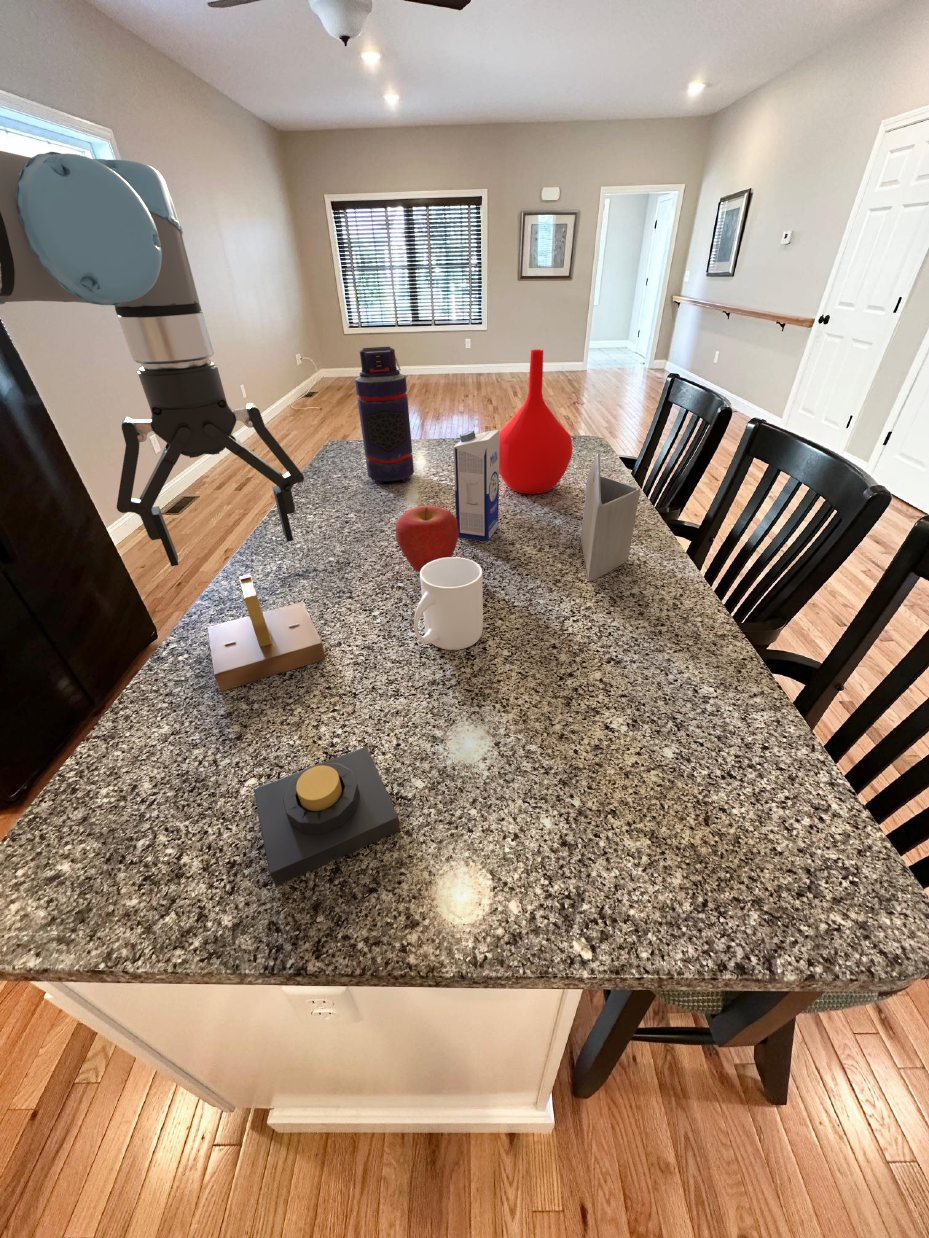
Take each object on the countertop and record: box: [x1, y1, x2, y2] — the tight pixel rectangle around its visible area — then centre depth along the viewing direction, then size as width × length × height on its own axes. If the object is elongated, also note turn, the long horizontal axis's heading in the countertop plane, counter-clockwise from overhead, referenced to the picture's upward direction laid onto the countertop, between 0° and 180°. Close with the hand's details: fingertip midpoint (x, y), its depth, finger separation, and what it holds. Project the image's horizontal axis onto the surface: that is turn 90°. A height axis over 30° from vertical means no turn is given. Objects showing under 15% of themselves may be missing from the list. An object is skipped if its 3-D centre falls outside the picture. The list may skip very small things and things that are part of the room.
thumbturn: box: [238, 573, 271, 647], centre depth 70 cm, size 6×2×8 cm, turn 26°
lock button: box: [296, 766, 342, 811], centre depth 49 cm, size 4×4×2 cm
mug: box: [413, 556, 484, 651], centre depth 72 cm, size 9×12×11 cm
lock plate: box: [206, 601, 326, 692], centre depth 74 cm, size 14×12×3 cm
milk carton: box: [452, 429, 500, 542], centre depth 99 cm, size 7×7×20 cm
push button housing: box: [253, 746, 401, 887], centre depth 51 cm, size 12×10×4 cm
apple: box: [394, 505, 459, 573], centre depth 89 cm, size 11×11×12 cm
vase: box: [499, 348, 573, 495], centre depth 117 cm, size 18×18×30 cm
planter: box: [579, 452, 641, 582], centre depth 89 cm, size 16×8×19 cm, turn 174°
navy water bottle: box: [354, 346, 415, 485], centre depth 126 cm, size 14×12×30 cm
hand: (233, 549), depth 65 cm, fingers open, 13 cm apart
